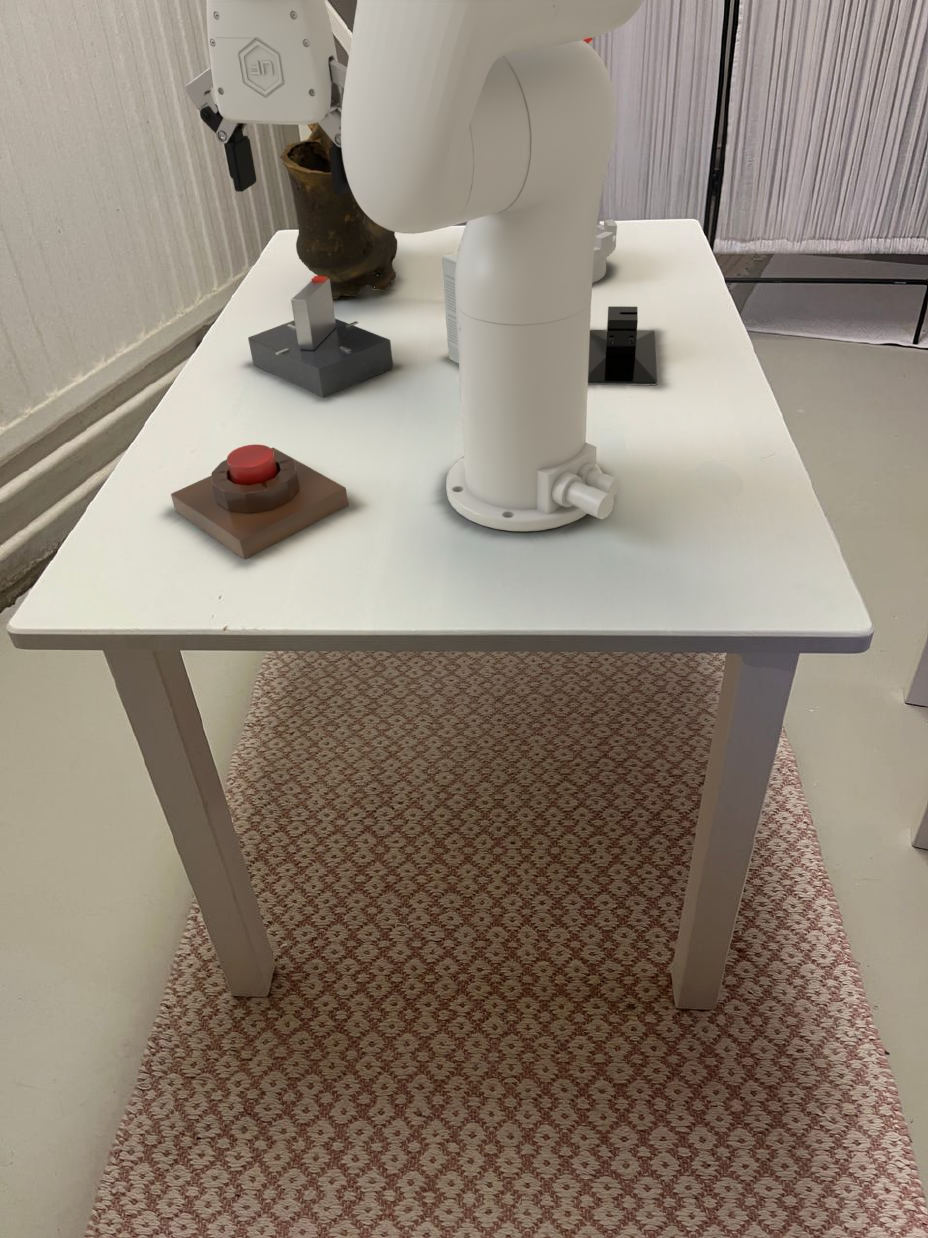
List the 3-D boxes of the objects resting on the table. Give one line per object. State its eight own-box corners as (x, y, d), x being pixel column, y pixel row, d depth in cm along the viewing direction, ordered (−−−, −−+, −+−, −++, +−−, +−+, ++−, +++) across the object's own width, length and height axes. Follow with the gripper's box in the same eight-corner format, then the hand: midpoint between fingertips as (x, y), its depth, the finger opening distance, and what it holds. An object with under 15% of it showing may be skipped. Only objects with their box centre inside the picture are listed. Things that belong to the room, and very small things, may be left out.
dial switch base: (398, 365, 95) (395, 336, 93) (318, 400, 89) (313, 369, 87) (326, 336, 101) (321, 307, 99) (248, 366, 96) (242, 337, 94)
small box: (507, 337, 99) (505, 235, 92) (541, 353, 95) (542, 248, 88) (446, 359, 95) (439, 254, 89) (479, 376, 92) (474, 269, 85)
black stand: (656, 386, 88) (660, 339, 85) (579, 385, 89) (581, 338, 86) (654, 332, 98) (657, 289, 95) (584, 332, 99) (586, 289, 96)
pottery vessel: (329, 250, 124) (306, 81, 111) (409, 248, 123) (396, 77, 110) (291, 323, 105) (258, 129, 92) (386, 321, 104) (366, 124, 91)
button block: (348, 505, 74) (343, 467, 72) (244, 560, 69) (235, 520, 67) (276, 464, 80) (269, 427, 78) (175, 511, 75) (164, 474, 73)
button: (286, 473, 73) (282, 454, 71) (248, 492, 71) (243, 472, 70) (260, 458, 75) (256, 439, 74) (222, 476, 73) (217, 456, 72)
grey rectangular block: (313, 350, 91) (305, 297, 88) (298, 349, 91) (290, 296, 88) (336, 326, 95) (329, 275, 92) (322, 325, 96) (314, 274, 92)
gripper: (139, -34, 72) (189, 197, 83) (345, -38, 68) (369, 206, 79) (186, -44, 78) (227, 174, 89) (379, -49, 74) (397, 181, 85)
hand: (294, 189), depth 84 cm, fingers open, 9 cm apart
